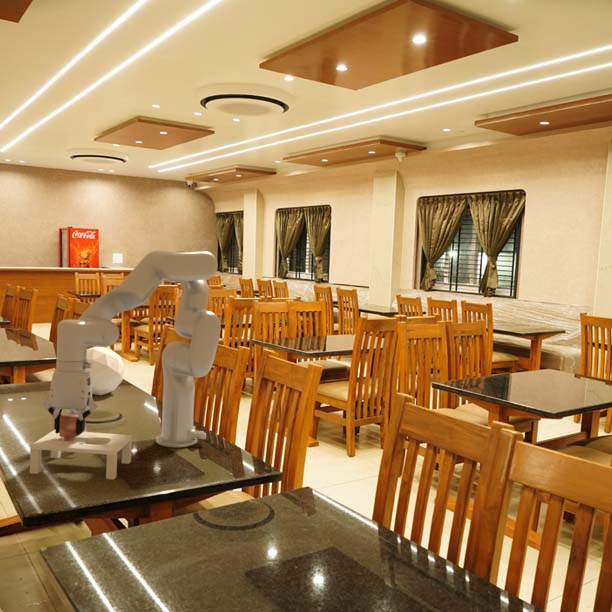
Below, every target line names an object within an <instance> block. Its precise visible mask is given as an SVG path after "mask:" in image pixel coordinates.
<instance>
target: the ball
mask: <svg viewBox="0 0 612 612" xmlns="http://www.w3.org/2000/svg"><path fill="white" fill-rule="evenodd" d="M87 362H88V363H91V364H92V366H91V368H87V369H86V370H87V371H89V372H90V377H91V384H92V395H96V396H104V395H106V394H109V393H111V392H114V391H115V390H116V388H117V387H118V386H119V385H120V384H121V383H122V382H123V380H124V374H125V373H124V372H125V364H124V362H123V359H122V357H121V355H120V354H118V353H117V352H115V351H114V350H112V349H111V348H109V347H95V346H92V347H91V348H90V347H89V348H87Z"/></svg>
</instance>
